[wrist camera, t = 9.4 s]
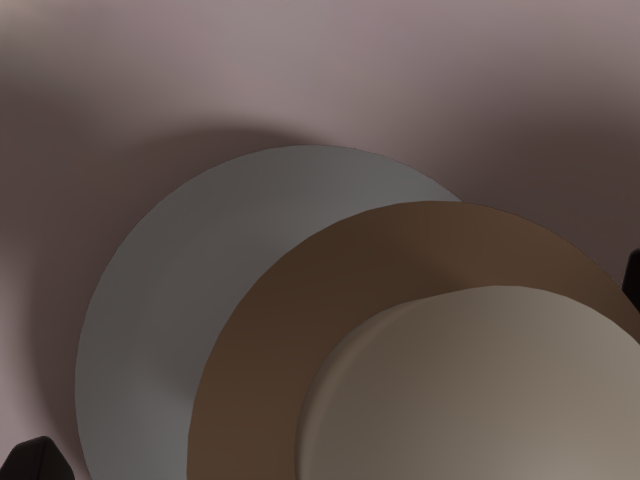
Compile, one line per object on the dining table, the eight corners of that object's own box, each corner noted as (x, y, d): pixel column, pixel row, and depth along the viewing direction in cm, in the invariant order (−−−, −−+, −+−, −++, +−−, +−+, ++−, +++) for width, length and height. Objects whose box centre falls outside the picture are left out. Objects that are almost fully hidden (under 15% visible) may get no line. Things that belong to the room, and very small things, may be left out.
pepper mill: (376, 495, 16) (753, 981, 4) (201, 435, 16) (41, 758, 4) (431, 320, 17) (874, 285, 5) (266, 259, 17) (308, 67, 5)
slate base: (554, 519, 19) (599, 546, 17) (143, 645, 17) (126, 696, 15) (449, 134, 21) (476, 107, 18) (62, 212, 19) (34, 194, 17)
